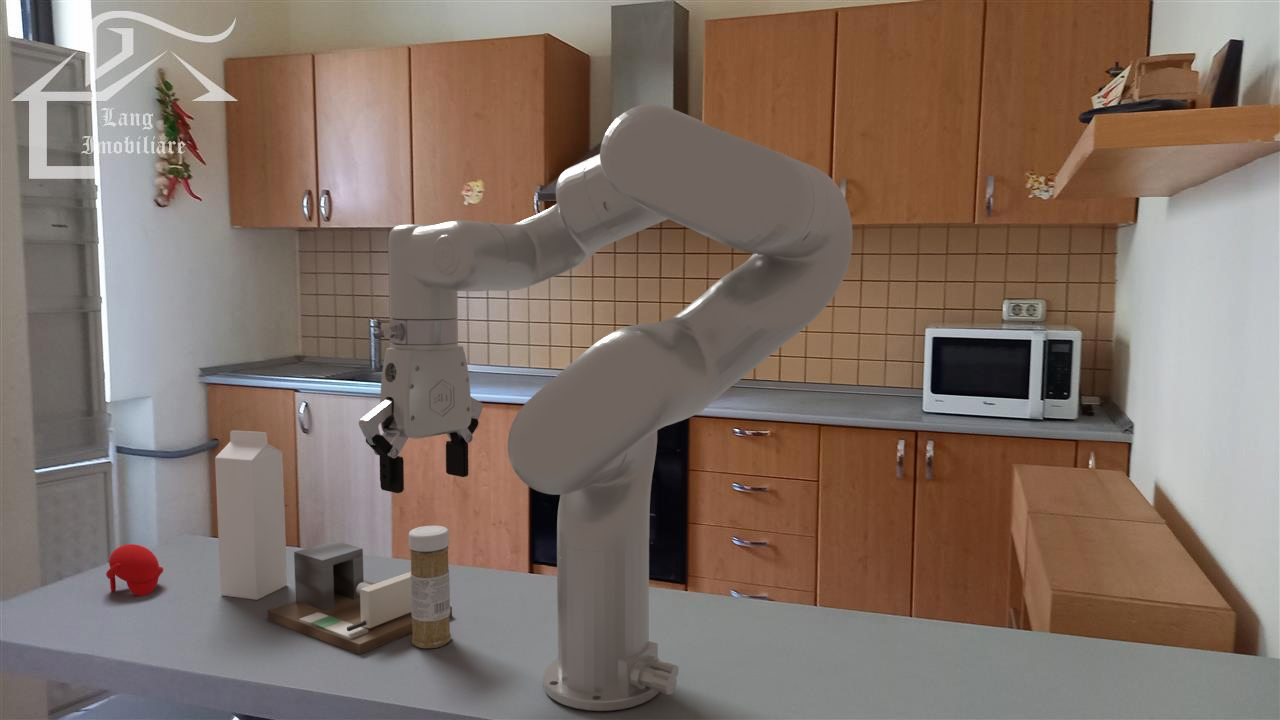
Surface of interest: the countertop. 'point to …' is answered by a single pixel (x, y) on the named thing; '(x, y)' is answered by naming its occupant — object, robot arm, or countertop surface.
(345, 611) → the gauge frame
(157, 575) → the cap
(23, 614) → the countertop surface
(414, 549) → the sprinkles bottle
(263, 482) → the milk
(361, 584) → the spring plunger
